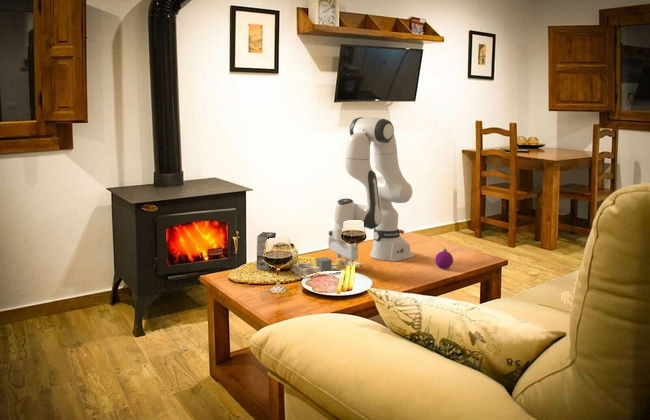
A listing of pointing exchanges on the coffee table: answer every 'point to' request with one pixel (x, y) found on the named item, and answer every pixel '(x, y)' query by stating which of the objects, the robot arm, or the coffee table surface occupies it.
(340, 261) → the cord block
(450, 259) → the christmas ornament
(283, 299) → the coffee table surface
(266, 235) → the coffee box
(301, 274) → the lane shelf
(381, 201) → the robot arm
